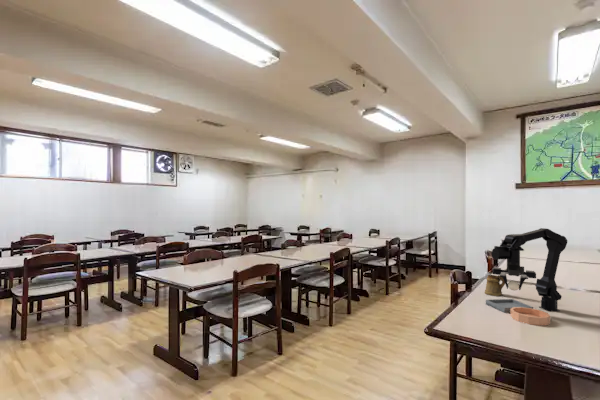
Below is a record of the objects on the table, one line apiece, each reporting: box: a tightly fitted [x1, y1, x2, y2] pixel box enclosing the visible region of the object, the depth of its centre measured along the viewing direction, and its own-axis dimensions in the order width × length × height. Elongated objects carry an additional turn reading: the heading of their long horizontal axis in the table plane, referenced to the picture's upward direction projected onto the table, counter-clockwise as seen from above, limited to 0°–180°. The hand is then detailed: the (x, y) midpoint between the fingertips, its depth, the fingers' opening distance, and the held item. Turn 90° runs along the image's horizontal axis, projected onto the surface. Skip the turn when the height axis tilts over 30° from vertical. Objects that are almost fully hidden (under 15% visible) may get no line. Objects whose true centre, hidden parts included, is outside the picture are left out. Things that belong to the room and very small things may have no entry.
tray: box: [485, 298, 534, 314], centre depth 171 cm, size 16×14×2 cm
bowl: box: [509, 307, 551, 326], centre depth 154 cm, size 15×15×4 cm
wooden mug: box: [484, 268, 507, 297], centre depth 196 cm, size 9×14×18 cm, turn 38°
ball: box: [507, 280, 519, 292], centre depth 167 cm, size 5×5×5 cm
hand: (513, 289), depth 167 cm, fingers closed on ball, 5 cm apart
